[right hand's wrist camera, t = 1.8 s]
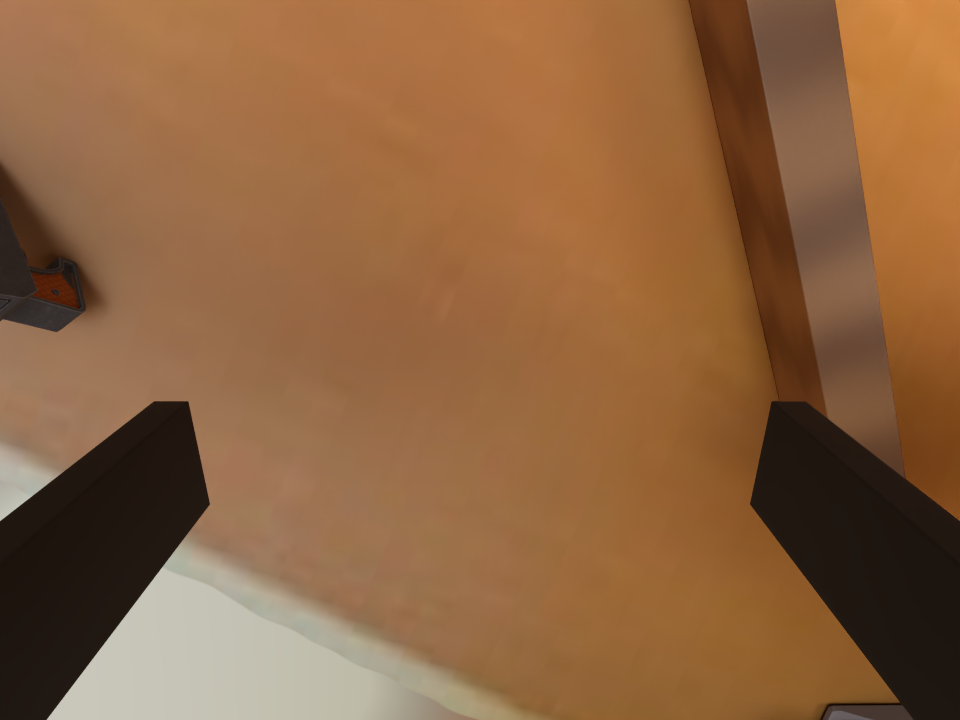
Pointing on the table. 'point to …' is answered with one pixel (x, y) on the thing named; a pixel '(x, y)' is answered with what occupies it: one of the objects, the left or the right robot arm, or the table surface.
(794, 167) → the bar
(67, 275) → the tool
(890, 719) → the hand plane
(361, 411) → the table surface
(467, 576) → the table surface
